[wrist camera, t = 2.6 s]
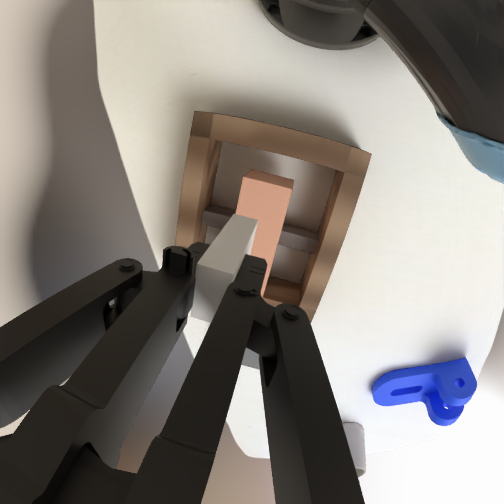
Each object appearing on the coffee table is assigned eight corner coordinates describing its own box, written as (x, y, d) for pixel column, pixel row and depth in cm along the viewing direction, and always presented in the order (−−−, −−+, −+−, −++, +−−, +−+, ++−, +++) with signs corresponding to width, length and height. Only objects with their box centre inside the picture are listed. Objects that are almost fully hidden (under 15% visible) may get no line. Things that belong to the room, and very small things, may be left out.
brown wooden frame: (210, 112, 29) (194, 110, 24) (361, 149, 28) (371, 153, 23) (186, 272, 38) (171, 292, 34) (307, 306, 37) (307, 330, 33)
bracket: (465, 357, 37) (481, 393, 29) (451, 386, 40) (463, 420, 32) (375, 371, 41) (383, 414, 33) (368, 399, 44) (373, 439, 36)
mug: (366, 420, 47) (369, 465, 37) (360, 438, 50) (362, 478, 40) (308, 423, 49) (305, 469, 40) (308, 441, 53) (305, 482, 43)
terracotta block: (251, 169, 28) (243, 176, 24) (294, 179, 28) (292, 189, 24) (230, 269, 34) (220, 289, 30) (266, 279, 34) (261, 301, 29)
